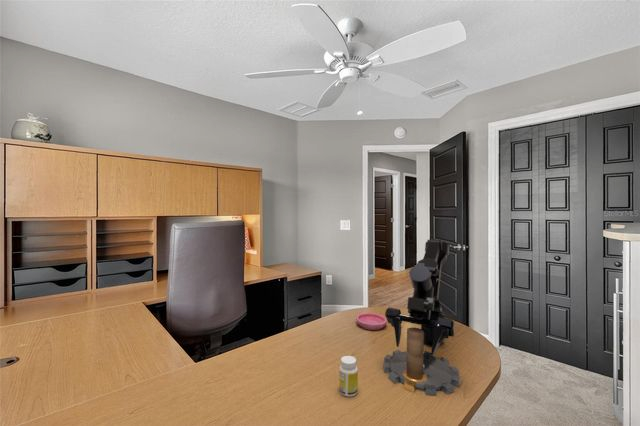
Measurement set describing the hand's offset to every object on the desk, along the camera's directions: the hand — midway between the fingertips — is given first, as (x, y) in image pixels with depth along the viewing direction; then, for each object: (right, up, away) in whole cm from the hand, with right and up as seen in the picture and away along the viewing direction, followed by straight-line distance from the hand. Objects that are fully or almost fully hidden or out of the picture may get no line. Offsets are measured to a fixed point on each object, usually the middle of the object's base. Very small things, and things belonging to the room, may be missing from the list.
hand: (414, 350), depth 78 cm
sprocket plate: (+4, -9, +6) cm, 11 cm away
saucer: (-5, -9, +40) cm, 41 cm away
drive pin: (+1, -7, +1) cm, 8 cm away
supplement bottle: (-18, -9, -4) cm, 21 cm away
